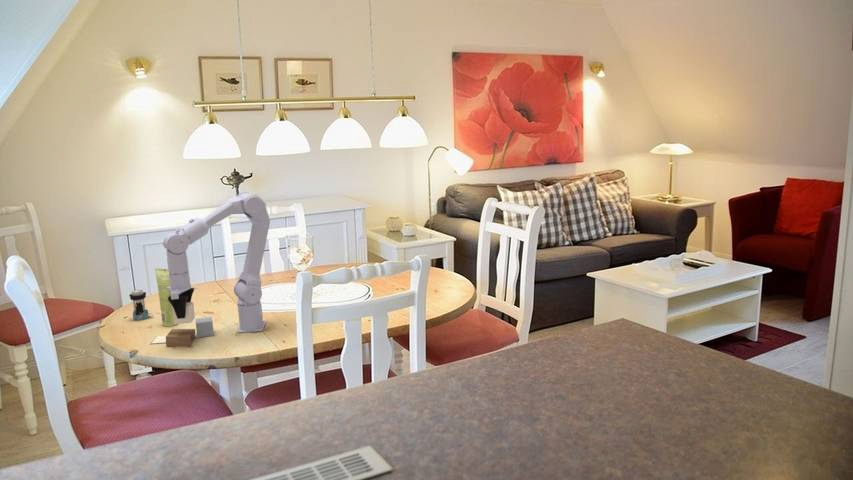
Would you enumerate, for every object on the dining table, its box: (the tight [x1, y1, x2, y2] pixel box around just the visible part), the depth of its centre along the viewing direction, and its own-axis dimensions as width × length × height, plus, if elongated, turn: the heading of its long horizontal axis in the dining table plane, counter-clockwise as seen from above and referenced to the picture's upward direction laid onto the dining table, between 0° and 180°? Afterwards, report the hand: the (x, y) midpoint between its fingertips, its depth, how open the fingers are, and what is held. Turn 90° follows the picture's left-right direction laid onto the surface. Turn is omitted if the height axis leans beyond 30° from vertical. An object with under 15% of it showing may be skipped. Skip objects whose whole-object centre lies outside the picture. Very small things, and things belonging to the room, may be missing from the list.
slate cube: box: [194, 316, 215, 339], centre depth 212 cm, size 5×5×5 cm
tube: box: [154, 267, 178, 328], centre depth 222 cm, size 6×5×20 cm
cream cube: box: [172, 301, 196, 325], centre depth 204 cm, size 5×5×5 cm
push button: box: [128, 289, 154, 321], centre depth 230 cm, size 7×5×10 cm
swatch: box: [149, 335, 167, 346], centre depth 209 cm, size 7×7×1 cm
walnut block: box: [165, 328, 196, 347], centre depth 206 cm, size 7×7×3 cm
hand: (183, 315), depth 204 cm, fingers closed on cream cube, 5 cm apart
